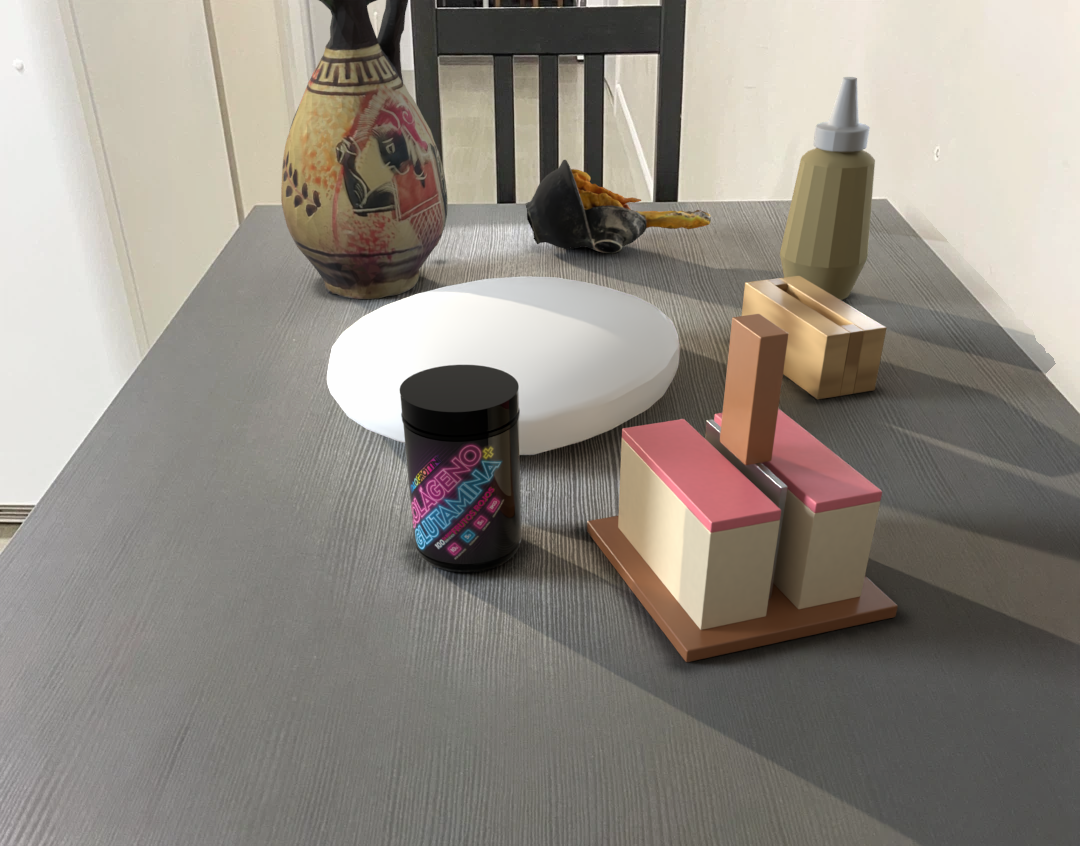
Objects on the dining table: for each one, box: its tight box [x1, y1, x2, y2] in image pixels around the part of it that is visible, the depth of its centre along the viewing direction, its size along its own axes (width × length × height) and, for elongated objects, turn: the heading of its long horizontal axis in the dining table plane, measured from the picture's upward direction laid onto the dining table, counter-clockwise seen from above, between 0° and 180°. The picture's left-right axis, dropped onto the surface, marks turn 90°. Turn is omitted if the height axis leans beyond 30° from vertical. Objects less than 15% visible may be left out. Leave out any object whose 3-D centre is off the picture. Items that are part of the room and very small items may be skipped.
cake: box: [586, 408, 899, 663], centre depth 63 cm, size 15×13×7 cm
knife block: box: [741, 276, 888, 400], centre depth 89 cm, size 13×5×5 cm, turn 19°
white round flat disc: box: [326, 275, 681, 456], centre depth 84 cm, size 28×6×27 cm
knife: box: [704, 314, 788, 599], centre depth 60 cm, size 9×2×14 cm, turn 19°
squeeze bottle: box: [779, 76, 876, 301], centre depth 98 cm, size 8×8×18 cm
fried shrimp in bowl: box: [525, 159, 712, 254], centre depth 113 cm, size 9×11×18 cm
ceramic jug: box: [280, 0, 449, 300], centre depth 98 cm, size 17×15×30 cm
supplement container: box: [400, 365, 522, 574], centre depth 64 cm, size 7×7×10 cm
